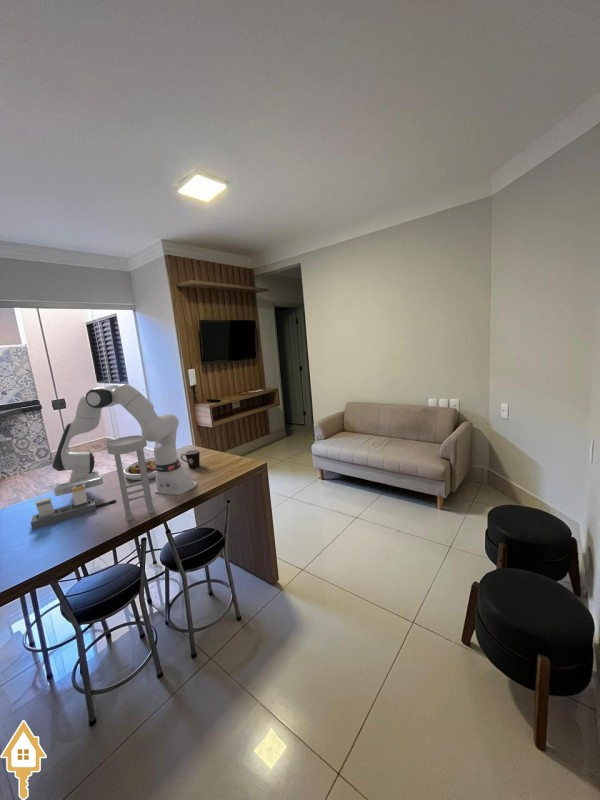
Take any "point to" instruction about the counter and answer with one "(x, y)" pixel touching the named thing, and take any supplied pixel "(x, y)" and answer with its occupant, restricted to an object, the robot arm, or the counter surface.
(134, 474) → the bowl
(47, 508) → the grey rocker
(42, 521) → the power strip
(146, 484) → the stool
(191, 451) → the coffee mug
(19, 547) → the counter surface
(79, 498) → the white upright block
